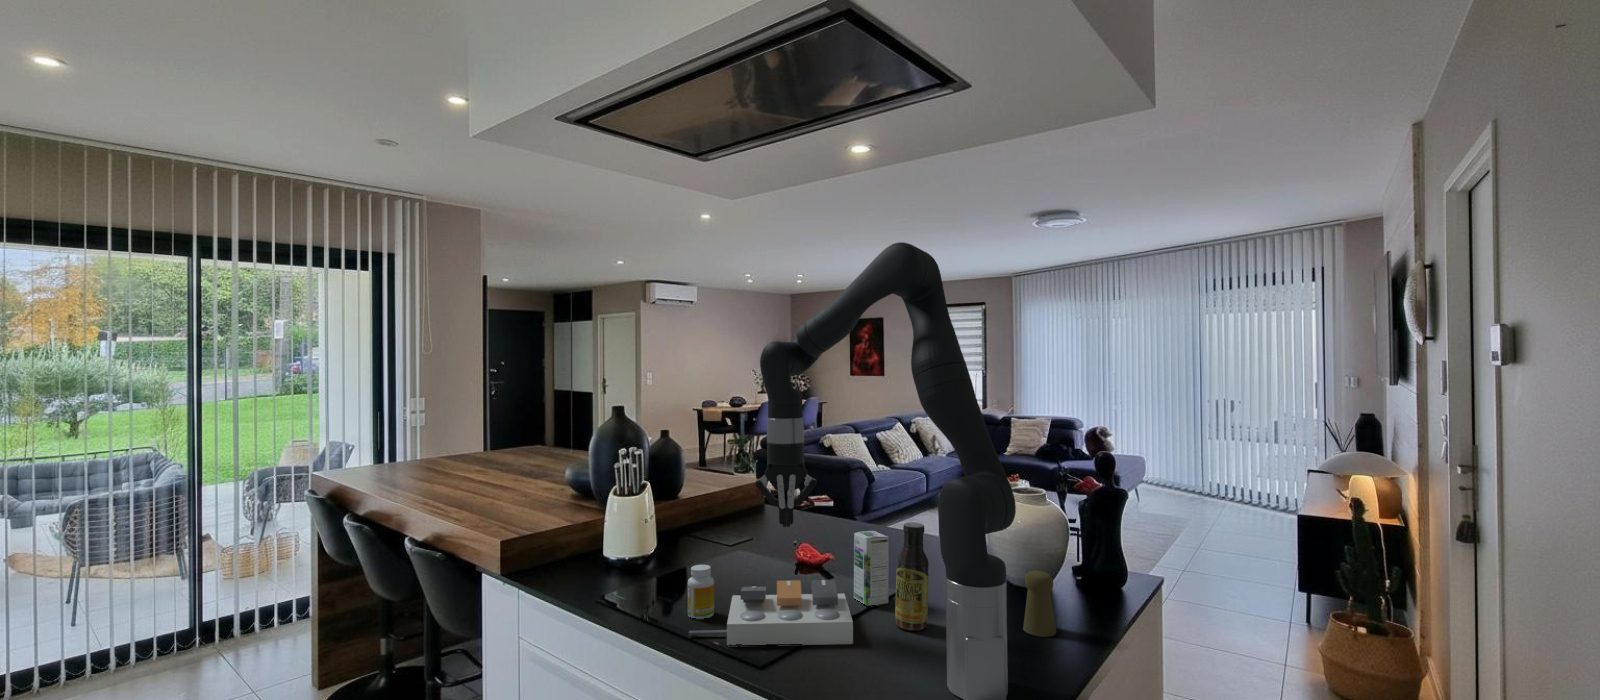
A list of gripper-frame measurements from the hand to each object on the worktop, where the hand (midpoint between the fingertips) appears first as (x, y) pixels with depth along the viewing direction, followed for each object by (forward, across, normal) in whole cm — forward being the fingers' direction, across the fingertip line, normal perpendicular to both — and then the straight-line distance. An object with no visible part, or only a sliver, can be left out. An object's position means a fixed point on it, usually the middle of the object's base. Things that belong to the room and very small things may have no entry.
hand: (786, 526), depth 131 cm
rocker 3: (+14, +7, -2) cm, 16 cm away
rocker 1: (+14, -7, -2) cm, 16 cm away
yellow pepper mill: (+19, +48, -8) cm, 53 cm away
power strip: (+19, -4, -4) cm, 20 cm away
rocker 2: (+14, 0, -2) cm, 14 cm away
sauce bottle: (+19, +24, -5) cm, 31 cm away
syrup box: (+19, +18, +9) cm, 28 cm away
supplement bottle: (+19, -18, +4) cm, 26 cm away
